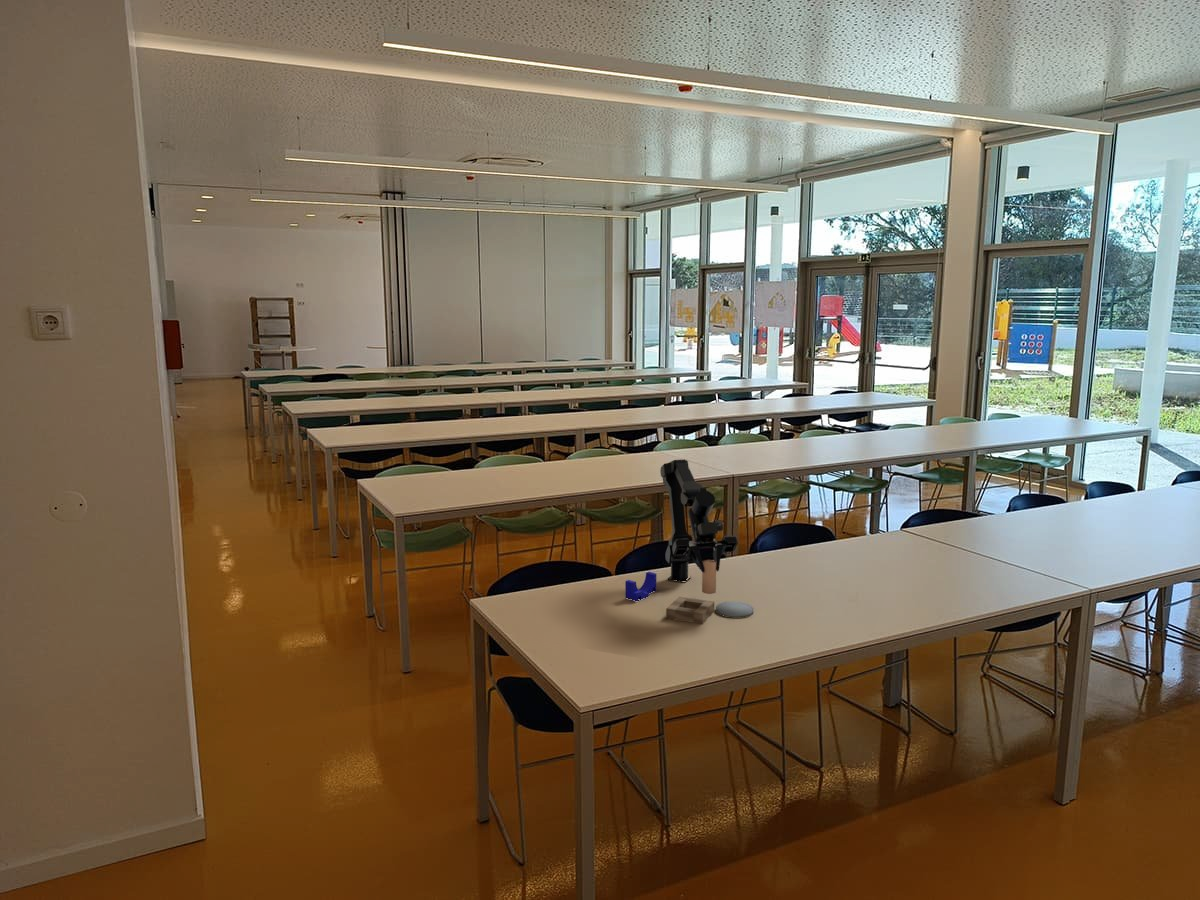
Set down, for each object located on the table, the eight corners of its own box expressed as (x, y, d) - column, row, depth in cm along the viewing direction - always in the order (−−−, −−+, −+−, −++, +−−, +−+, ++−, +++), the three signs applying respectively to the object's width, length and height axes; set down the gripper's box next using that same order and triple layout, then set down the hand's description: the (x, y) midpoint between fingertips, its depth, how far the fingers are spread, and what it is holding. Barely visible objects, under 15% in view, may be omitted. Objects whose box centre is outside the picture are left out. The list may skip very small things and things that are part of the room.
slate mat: (721, 602, 248) (722, 599, 248) (757, 607, 243) (757, 604, 243) (711, 614, 238) (711, 611, 238) (748, 620, 233) (748, 616, 233)
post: (703, 588, 240) (703, 559, 238) (716, 589, 239) (717, 560, 237) (701, 593, 236) (701, 563, 234) (714, 594, 235) (715, 564, 233)
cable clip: (637, 602, 249) (636, 584, 248) (625, 599, 252) (625, 581, 251) (660, 592, 258) (660, 574, 257) (648, 589, 261) (648, 571, 260)
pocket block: (678, 606, 245) (679, 596, 245) (714, 611, 241) (714, 601, 240) (666, 618, 235) (666, 608, 235) (702, 623, 231) (702, 613, 230)
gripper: (674, 512, 236) (684, 559, 227) (736, 508, 239) (748, 555, 230) (668, 531, 245) (677, 578, 236) (727, 528, 248) (739, 574, 239)
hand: (710, 571), depth 235 cm, fingers closed on post, 4 cm apart
